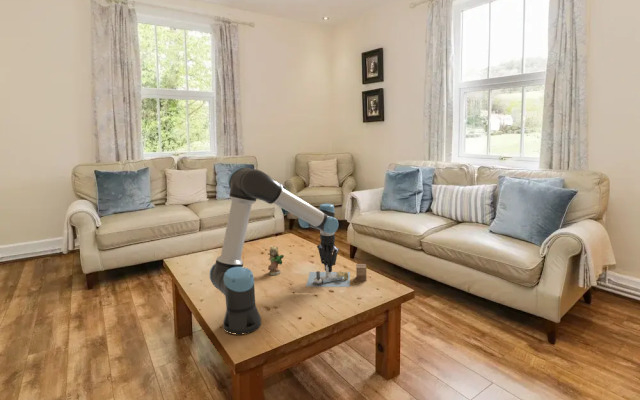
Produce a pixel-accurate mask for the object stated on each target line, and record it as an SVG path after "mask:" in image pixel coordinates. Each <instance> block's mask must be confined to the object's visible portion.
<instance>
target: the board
mask: <svg viewBox="0 0 640 400" xmlns="http://www.w3.org/2000/svg"><path fill="white" fill-rule="evenodd" d="M337 272H338V271H332V272H331V275H336V274H337ZM346 272H347V273H348V280H345V279H344V276H343V279H342V280H337V281H332V282H327V283H322V284H319V285H317V284H314V278H317V279H320V278H321V277H326V271H318V270H317V271H309V274H308V278H307V281H306V284H305V288H306V287H309V288H313V287H314V288H315V287H316V288H320V287H321V288H331V287H332V288H349V287H351V272H350V271H346Z"/></svg>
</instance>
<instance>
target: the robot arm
mask: <svg viewBox="0 0 640 400" xmlns="http://www.w3.org/2000/svg"><path fill="white" fill-rule="evenodd" d="M227 181H228V182H227V184H228V187H229V195H228V196H229V197H228V198H230V200H231V203H230V209H229V213H228V219H227V224H226V229H225V234H224V237H223V238H224V239H223V244H222V248H221V254H220V255H218V256H217V257H216V260H215V263H214V264H213V265H212V266H211V268H210V270H209V279H210V282H211V284H212V285H213V286H214V287H215V288H216V289H217V290H218V291H220V292H221V293H222V294H223V296H224V297H225V306H226V311H225V314H224V319H223V330H224V329H225V330H226V331H228V332H231V333H236V334H242V333H248V332H251V333H253V332H255V331H257V330H258V329H259V328H260V327H261V325H262V317H261V315H260V313H259V311H258V308H257V306H256V305H257V304H256V294H255V291H256V290H255V277H254V274H253V273H254V272H253V271H252V270H251V269H250V268H247V267H243V266H244V261H243V259H242V253H243V248H244V245H245V239H246V234H247V229H248V225H249V219H250V216H251V215H250V214H251V210H252V205H253V204H254V203H256V202H257V200H261V201H264V202H265V203H267V204H269V205H272V204H274V205H276V206H278V207H280V208H281V209H282V210H285V211H286V212H288V213H289V214H292V215H294V216H295V217H297V218H298V224H299V226H300V227H301V228H303V229H304V228H305V229H306V228H307V229H309V228H312V229H315V230H319V232H320V235H319V237H320V243H319V244H318V245H316V247H317V250H318V253H319V258H320V263H321V264H322V265H324V272H326V276H331V272H333V266H335V265H336V262H337V258H338V253H339V251H340V248H337V247H336V243H335V241H336V233H337V230H338V228H339V221H338V219H337V218H336V216H335V213H336V212H335V205H334V204H332V203H321V204H320V205H319V207H318V208H317V207H315V206H313V205H312V204H310V203H308V202H307V201H305V200H304V199H302V198H300V197H299V196H297V195H295V194H294V193H292V192H290V191H289V190H287V189H285V188H284V187H283V184H282V183H281V182H280V181H278V180H276V179H274V178H273V177H271V176H270V175H268V174H267V173H265V172H264V171H262V170H261V169H260V170H259V169H255V168H254V169H253V168H249V167H238V168H236V169H234V170H233V171H232V172H231V173H230V174H229V177H228V180H227ZM256 329H257V330H256ZM225 330H224V331H225ZM254 330H255V331H254ZM226 331H225V332H226ZM252 331H253V332H252ZM248 334H249V333H248Z"/></svg>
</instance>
